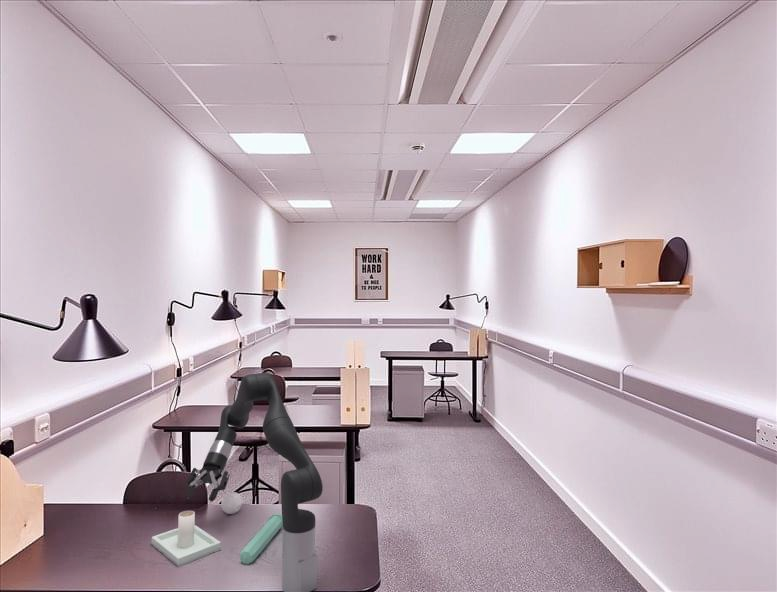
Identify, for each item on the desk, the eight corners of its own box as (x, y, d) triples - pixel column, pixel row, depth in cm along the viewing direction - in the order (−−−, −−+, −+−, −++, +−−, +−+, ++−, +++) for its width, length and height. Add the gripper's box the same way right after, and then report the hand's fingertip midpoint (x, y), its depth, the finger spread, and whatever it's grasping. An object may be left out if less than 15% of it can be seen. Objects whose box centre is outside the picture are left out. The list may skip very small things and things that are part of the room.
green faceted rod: (249, 546, 151) (281, 511, 176) (233, 552, 152) (266, 516, 177) (256, 565, 151) (287, 526, 176) (240, 570, 152) (272, 531, 176)
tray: (220, 550, 161) (220, 542, 161) (178, 566, 150) (178, 558, 150) (192, 530, 174) (192, 523, 174) (151, 544, 164) (151, 536, 164)
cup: (196, 544, 163) (197, 513, 163) (181, 549, 159) (182, 518, 159) (189, 539, 166) (190, 509, 166) (174, 544, 162) (175, 513, 162)
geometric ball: (225, 521, 188) (213, 504, 187) (239, 506, 194) (227, 490, 194) (236, 516, 183) (223, 499, 183) (250, 501, 190) (237, 484, 190)
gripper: (196, 449, 180) (176, 492, 169) (232, 452, 177) (213, 496, 166) (205, 459, 185) (185, 502, 174) (239, 462, 182) (222, 506, 171)
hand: (199, 499), depth 170 cm, fingers open, 8 cm apart
